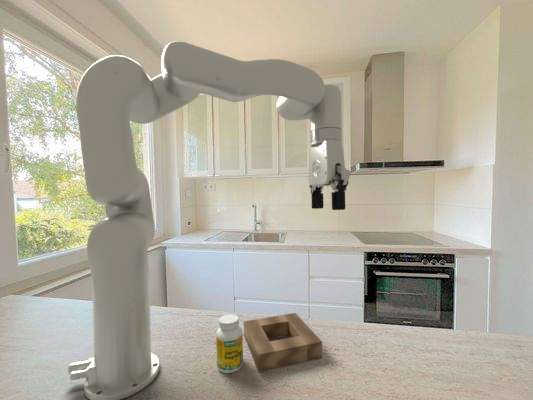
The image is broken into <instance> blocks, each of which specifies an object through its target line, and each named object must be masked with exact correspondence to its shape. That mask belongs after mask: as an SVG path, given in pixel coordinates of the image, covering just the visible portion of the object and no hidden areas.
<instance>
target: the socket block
mask: <svg viewBox="0 0 533 400" xmlns="http://www.w3.org/2000/svg"><path fill="white" fill-rule="evenodd" d="M243 336H244V338H245V342H246V344H247V347H248V349H249V351H250V354H251V357H252V359H253V362H254V364H255V367H256V370H257V371H258V373H263V372H268V371H271V370H276V369H281V368H284V367H288V366H294V365H297V364H302V363H307V362H310V361H315V360H316V361H317V360H320V359H323V342H322V340H321V338H320V337H319V336H317V334H316V333H315V332H314V331H313V330H312V329H311V328H310V327H309V326H308V325H307V324H306V322H304V321H303V319H302V318H301V317H300V315H298V314H297V313H296V312H293V313H286V314H280V315H275V316H268V317H264V318H263V317H262V318H256V319H250V320H244V321H243ZM285 336H288V337H287V338H281V339H277V338H280V337H285ZM270 339H276V340H271V341H270Z"/></svg>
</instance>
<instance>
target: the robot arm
mask: <svg viewBox="0 0 533 400" xmlns="http://www.w3.org/2000/svg"><path fill="white" fill-rule="evenodd" d="M160 64H161V65H160V66H161V72H162V73H160V74H159V75H157V76H155V77H153V78H151V76H150V75H149V74H148V72H147V71H146V69H145V68H144V67H143V66H142V65H141V64H140V63H138V62H137V61H136V60H134V59H132V58H131V57H128V56H125V55H116V54H114V55H110V56H109V55H108V56H105V57H103V58H101V59H99V60H97V61H96V62H94V63H93V64H91V66H89V68H87V69H86V70H85V72H84V74H83V75H82V76H81V78H80V81H79V83H78V86H77V89H76V95H75V97H76V98H75V106H76V117H77V124H78V131H79V136H80V137H79V138H80V150H81V156H82V163H83V171H84V180H85V187H86V192H87V193H88V196H89V197H90V198H91V199H92V200H93V201H94V202H96V203H97V204H98V205H102V206H104V210H105V213H106V214H105V215H106V216H105V217H104V218H102V219H101V220H99V221H98V222H97V223H96V224H95V225H94V226H93V228H92V229H91V231H90V232H89V235H88V237H87V244H86V250H87V251H86V253H87V254H86V255H87V258H88V264H89V268H90V269H89V270H90V276H91V293H92V316H93V318H92V319H93V321H92V322H93V326H92V327H93V356H91V357H90V358H89V359H85V360H77V361H71V362H70V363H69V365H68V369H67V370H68V372H67V373H68V375H70V381H74V380H80V379H84V378H85V381H84V384H83V387H84V388H83V393H84V396H85V397H86V398H87V399H89V400H123V399H125V398H128V397H130V396H132V395H134V394H137V393H138V392H140V391H142V390H143V389H144V388H146V387H147V386H149V384H150V383H152V382H153V381H154V380H155V378H156V377H157V375H158V374H159V372H160V368H161V367H160V365H161V364H160V363H161V360H160V357H158V355H156V354H155V353H153V352H152V340H151V339H152V338H151V336H152V335H151V334H152V333H151V332H152V330H151V327H152V326H151V325H152V324H151V291H150V288H151V287H150V286H151V285H150V284H151V283H150V268H149V256H148V251H149V250H148V248H149V247H150V245H151V243H152V242H153V240H154V237H155V232H156V231H155V230H156V229H155V220H154V214H153V212H154V211H153V206H152V205H153V204H152V199H151V198H152V197H151V190H150V185H149V184H150V183H149V181H148V179H147V176H146V175H145V174H144V171H142V170H141V169H140V168H139V167H138V164H137V161H136V160H137V159H136V154H135V148H134V138H133V137H134V136H133V133H132V132H133V131H132V127H131V122H132V123H135V124H141V125H144V124H150V123H152V122H155V121H158V120H160V119H162V118H163V117H166V116H167V115H170V114H171V113H173V112H175V111H178V110H179V109H181V108H183V107H184V106H186V105H188V104H190V103H191V102H192V101H194V100H195V99H197V98H198V97H199V95H200V94H204V95H205V96H207V95H208V96H210V97H214V98H217V99H221V100H225V101H227V102H231V103H239V102H245V101H247V100H249V99H252V98H254V97H255V98H256V97H260V96H275V97H276V96H277V97H278V98H277V101H276V111H277V113H278V114H279V116H280V117H281V118H283V119H284V120H288V121H303V120H310V121H309V122H310V123H309V126H310V128H309V129H310V130H309V131H310V133H309V134H310V151H309V159H308V185H309V189H310V194H311V196H310V197H311V209H315V210H317V209H324V192H323V189H324V187H325V186H328V187H329V186H330V187H331V189H332V191H333V192H331V210H332V211H340V210H346V192H347V187H348V185H349V179H350V176H351V171H350V170H349V169H348V168H346V165H345V164H346V163H345V154H344V146H343V127H342V126H343V125H342V124H343V123H342V122H343V121H342V119H343V118H342V91H341V89H340V88H339V86H336V85H335V84H325V82H324V80H323V78H322V77H321V76H320V75H319V74H318V73H317V71H314V70H312V69H311V68H309V67H306V66H305V65H301V64H298V63H296V62H293V61H290V60H286V59H279V58H278V59H277V58H276V59H275V58H271V59H270V58H269V59H253V60H240V59H238V58H237V59H236V58H233V57H231V56H227V55H225V54H221V53H218V52H216V51H213V50H209V49H207V48H203V47H201V46H197V45H194V44H192V43H188V42H185V41H181V40H173V41H172V42H169V43H168V44H167V45H166V46H165V47H164V49H163V52H162V54H161V63H160ZM322 192H323V193H322Z"/></svg>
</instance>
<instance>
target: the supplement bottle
mask: <svg viewBox="0 0 533 400" xmlns="http://www.w3.org/2000/svg"><path fill="white" fill-rule="evenodd" d="M239 320H240V319H239V316H238V315H236V314H230V313H229V314H224V315H222V316H221V317H220V318H219V320H218V329H217V330H216V332H215V341H216V345H215V346H216V367H217V370H218V371H220V372H222V373H224V374H231V373H235V372H238V371H239V370H240V369H241V368H242V366H243V365H244V364H243V363H244V346H243V345H244V344H243V343H244V342H243V341H244V339H243V329H242V327H241V326H240V321H239Z"/></svg>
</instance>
